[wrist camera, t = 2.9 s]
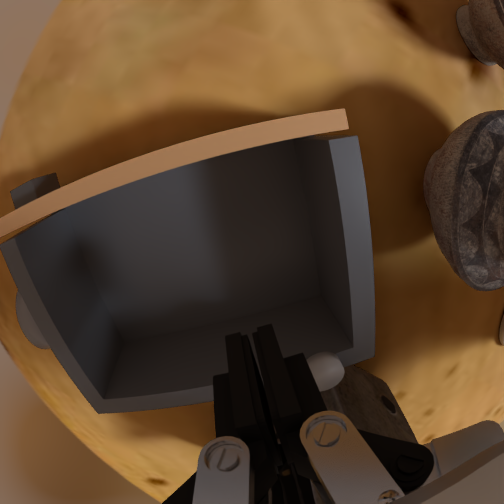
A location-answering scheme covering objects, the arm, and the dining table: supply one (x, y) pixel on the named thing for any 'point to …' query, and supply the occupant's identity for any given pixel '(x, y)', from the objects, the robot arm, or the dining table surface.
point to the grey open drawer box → (203, 273)
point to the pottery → (473, 168)
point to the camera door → (160, 164)
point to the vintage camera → (362, 417)
